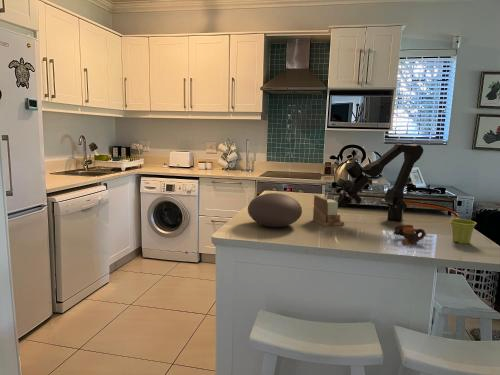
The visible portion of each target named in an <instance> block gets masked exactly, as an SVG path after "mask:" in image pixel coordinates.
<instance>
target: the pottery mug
mask: <svg viewBox="0 0 500 375" xmlns="http://www.w3.org/2000/svg"><path fill="white" fill-rule="evenodd" d="M420 233H421V235H420V236H419V234H420ZM426 234H427V233H426V231H425V229H423V228H414V225H412V224H401V225H398V226H395V227H394V231H393V235H396V236H402V237H403V238H402V239H401V243H402V245H413V246H414V245H415V246H416V245H417V243H419V241H421V240H423V239H424V238H425V236H426Z"/></svg>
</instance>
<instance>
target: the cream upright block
mask: <svg viewBox="0 0 500 375" xmlns="http://www.w3.org/2000/svg"><path fill="white" fill-rule="evenodd" d="M326 199H327V198H326ZM338 210H339V208H338V202H337V200H333V199H331V198H330V199H327V212H326V220H327V215H338Z"/></svg>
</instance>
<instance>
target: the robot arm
mask: <svg viewBox="0 0 500 375" xmlns="http://www.w3.org/2000/svg"><path fill="white" fill-rule="evenodd" d="M402 153H403V159H404V160H403V162H402V165H401V168H400V170H399V172H398V175H397V177H396V180H395V182H394V185H393V186H392V187H391V188H387V189H386V193H385V194H384V200H385V202H386V205H387V206H388V207H389V209H388V210H387V220H388V221H395V222H402V221H403V220H404V210H406V209H407V207H408V205H407V204H406V202H405V201H404V198H405V194H404V193H405V192H404V190H405V187H406V184H407V183H408V179H409V178H410V175H411V172H412V170H413V168H414V165H415V164H416V162H418V161H419V160H420V158H421V157H422V156H423V154H424V148H423V146H422V145H421V144H415V143H413V144H412V143H411V144H403V143H396V144H394V145H393V147H391V148H390V149H389V150H387V151H386V152H385V153H384V154H382V155H381V156H380V157H379V158H378V159H376V160H374V161H371V162H369V163H367V164H365V166H360V164H359V163H358V161H357V160H353V161H352V162H349V163H348V164H346V165H345V166H344V168H343V169H344V171H345V172H346V173H347V175H349V177H350V178H351V179H354V180H352V181H351V180H350V179H346V180H345V179H342V178H338V180H337V182H336V187H335V188H334V189H333V190H334V192H335V193H336V194H337V195H338V198H337V200H336V202H338V209H339V208H341V207H344V206H346V205H349V204H350V205H351V204H353V201H355V204H356V205H360V204H362V202H363V200H362V198H361V196H360V195H359V193H362V192H363V191H362V189H364V188H365V186H366V185H370V186H372V185H373V179H371V178H377V177H378V176H379V175H380V174H381V173H382V172H383V170H384V168H385V167H386V166H387V165H388V164H389V163H391V162H392V161H393V160H395V159H396V158H397V157H398V156H399V155H400V154H402Z"/></svg>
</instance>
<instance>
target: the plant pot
mask: <svg viewBox="0 0 500 375" xmlns="http://www.w3.org/2000/svg"><path fill="white" fill-rule="evenodd" d="M450 223H451V228H452V230H451V231H452V232H451V233H452V234H451V235H452V242H454V243H458V244H465V245H467V244H470V242H471V240H472V235H473V231H474V229H475V227H476V225H477V222H476V221H473V220H469V219H462V218H451V219H450Z"/></svg>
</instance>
